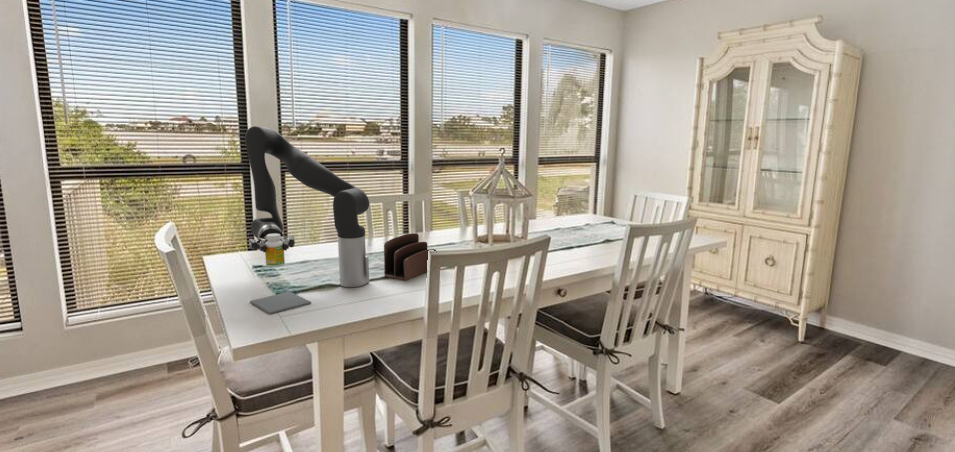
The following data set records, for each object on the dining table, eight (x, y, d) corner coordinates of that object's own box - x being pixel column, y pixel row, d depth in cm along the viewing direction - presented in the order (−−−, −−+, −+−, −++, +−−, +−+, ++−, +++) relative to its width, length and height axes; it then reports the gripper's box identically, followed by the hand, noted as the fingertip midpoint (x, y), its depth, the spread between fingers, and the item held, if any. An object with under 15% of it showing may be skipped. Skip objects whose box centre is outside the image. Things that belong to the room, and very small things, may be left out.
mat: (289, 293, 166) (289, 291, 166) (310, 303, 157) (310, 301, 156) (249, 302, 157) (249, 300, 157) (270, 314, 147) (269, 312, 147)
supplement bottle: (278, 268, 153) (276, 237, 151) (262, 266, 154) (260, 236, 152) (288, 263, 158) (286, 233, 156) (273, 262, 159) (270, 232, 157)
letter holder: (383, 276, 186) (382, 239, 183) (417, 264, 202) (416, 230, 199) (405, 281, 180) (404, 243, 178) (437, 268, 197) (437, 233, 194)
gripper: (246, 227, 164) (248, 238, 149) (292, 224, 170) (299, 234, 155) (248, 249, 165) (250, 262, 150) (294, 245, 171) (300, 257, 157)
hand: (275, 248), depth 153 cm, fingers closed on supplement bottle, 5 cm apart
